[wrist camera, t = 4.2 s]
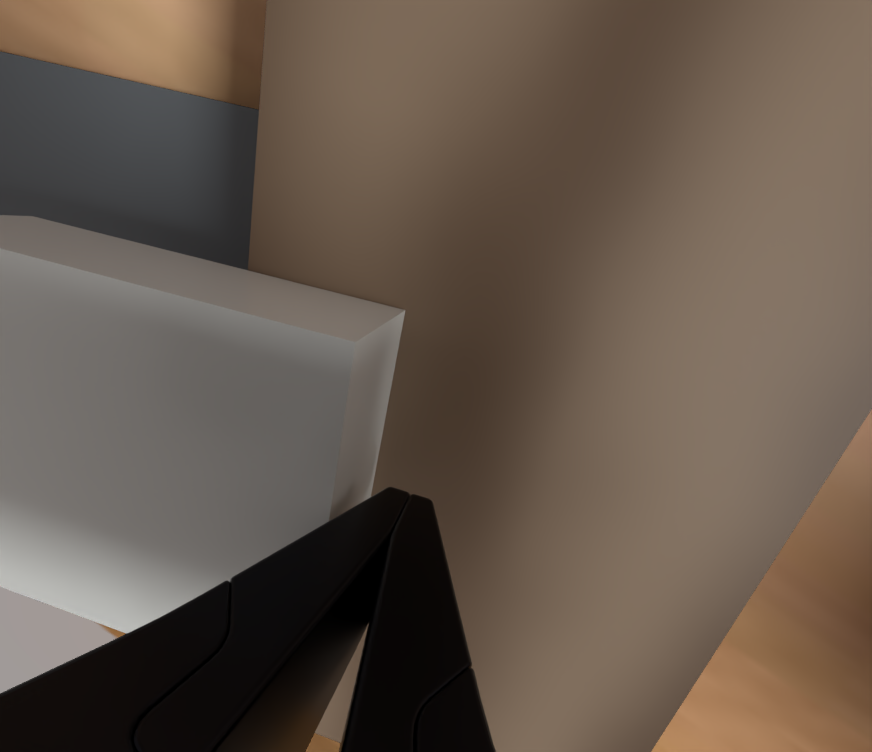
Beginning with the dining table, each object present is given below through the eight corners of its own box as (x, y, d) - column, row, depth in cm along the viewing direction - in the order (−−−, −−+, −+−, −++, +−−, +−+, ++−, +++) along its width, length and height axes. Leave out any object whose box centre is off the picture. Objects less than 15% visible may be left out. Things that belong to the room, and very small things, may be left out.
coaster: (405, 309, 8) (355, 341, 6) (352, 593, 10) (302, 698, 8) (32, 216, 9) (-146, 209, 6) (64, 496, 11) (-56, 565, 9)
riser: (905, 104, 8) (1113, 33, 5) (579, 721, 14) (593, 840, 11) (350, -2, 9) (274, -106, 6) (273, 611, 15) (218, 695, 13)
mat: (314, 124, 10) (306, 120, 10) (266, 552, 15) (260, 561, 14) (-77, 36, 11) (-97, 29, 11) (-9, 458, 16) (-22, 463, 15)
